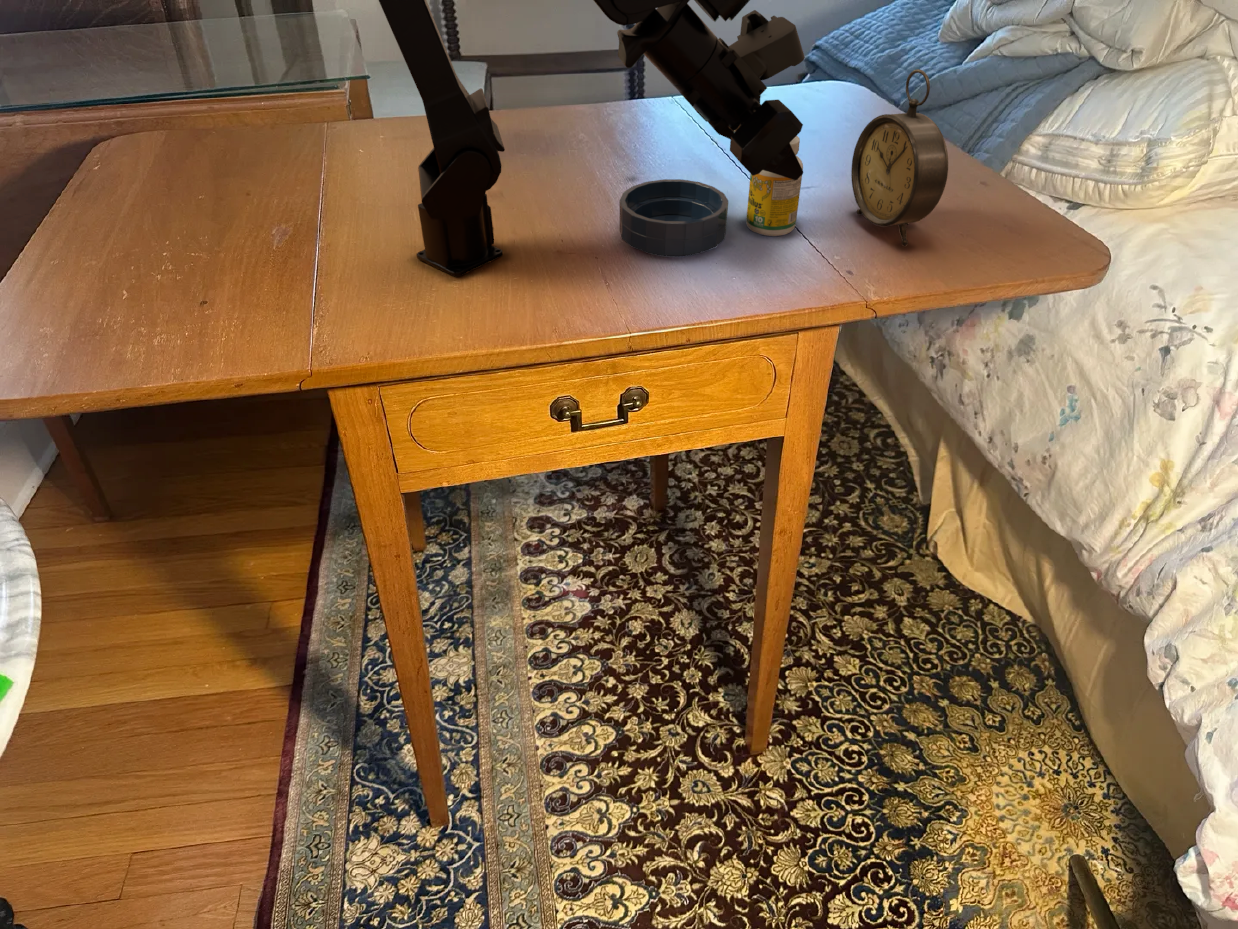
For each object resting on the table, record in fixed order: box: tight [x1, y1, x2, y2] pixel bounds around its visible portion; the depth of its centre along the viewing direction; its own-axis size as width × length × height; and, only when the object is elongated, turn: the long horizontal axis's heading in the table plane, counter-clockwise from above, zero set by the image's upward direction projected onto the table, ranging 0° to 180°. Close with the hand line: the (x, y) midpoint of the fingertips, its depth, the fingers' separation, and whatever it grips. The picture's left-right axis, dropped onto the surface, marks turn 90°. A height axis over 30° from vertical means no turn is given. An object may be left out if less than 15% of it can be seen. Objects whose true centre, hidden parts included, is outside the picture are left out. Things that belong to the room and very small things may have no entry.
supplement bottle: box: [745, 135, 804, 237], centre depth 91 cm, size 5×5×10 cm
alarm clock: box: [850, 68, 949, 247], centre depth 88 cm, size 11×5×16 cm, turn 21°
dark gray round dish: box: [618, 178, 729, 258], centre depth 91 cm, size 11×11×4 cm
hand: (789, 165), depth 90 cm, fingers closed on supplement bottle, 5 cm apart
